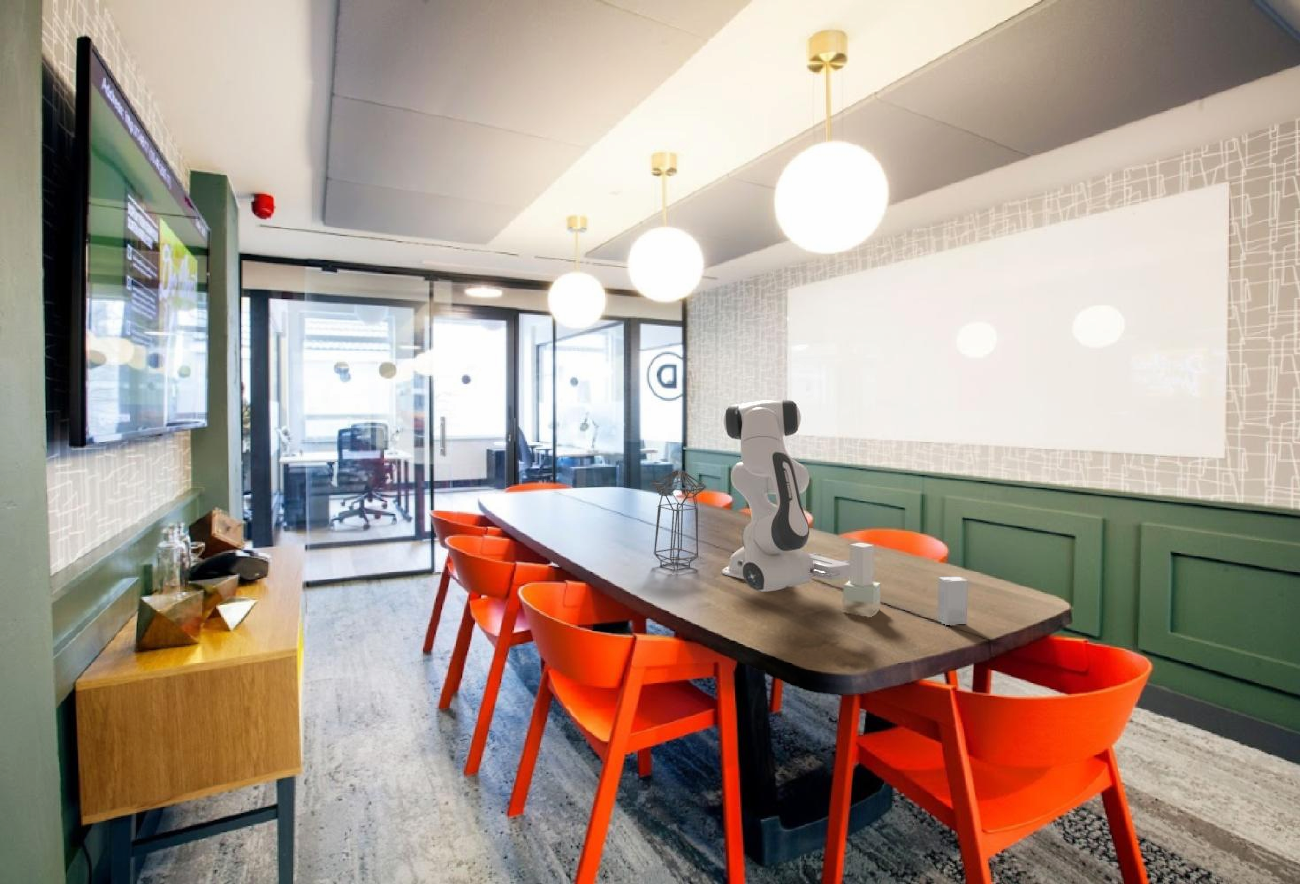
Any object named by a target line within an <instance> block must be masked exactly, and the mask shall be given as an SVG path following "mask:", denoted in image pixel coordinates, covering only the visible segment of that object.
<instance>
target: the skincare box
mask: <svg viewBox="0 0 1300 884" xmlns="http://www.w3.org/2000/svg"><path fill="white" fill-rule="evenodd" d="M968 586H969V580H967V579H965V578H963V577H960V576H943V577H942V576H940V577H938V582H937V618H936V619H937V622H939V623H940V622H941V623H940V624H941V625H943V624H945V625H944V626H946V625H950V626H954V625H953V624H967V623H968V620H967V619H968V597H969V596H968V593H969V592H968V589H969V587H968ZM967 625H968V624H967Z"/></svg>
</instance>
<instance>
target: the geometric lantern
mask: <svg viewBox="0 0 1300 884" xmlns="http://www.w3.org/2000/svg"><path fill="white" fill-rule="evenodd" d="M668 477H669V478H668ZM665 479H666V480H665ZM662 480H665V481H664V482H663V483H659V482H660V481H662ZM693 480H694V481H695V482H697V485H696V484H695V483H694V482H693ZM681 483H682V485H683V486H684V487H682V486H681ZM678 484H679V488H677V487H678ZM698 484H700V485H698ZM649 485H652V486H653V488H654V489H656V491H657V492H658V494H659V495H658V496H660V501H659V504H658V505H657V506H656V507H657V513H656V514H657V517H656V527H655V528H656V529H655V539H654V549H653V550H654V551H653V555H654V556H655V557H656V558H657V559H658V560H659V562H660V563H659V567H660V568H663V569H666V570H669V571H673V572H674V571H675V572H676V571H680V570H681V571H682V570H684V569H688V568H691V563H692V562H693V561H695V559H697V558H699V507H698V499H697V495H699V493H701V492H702V491H704V490H705V489H706V488H707V487H708V485H706V484H704V483H703V482H701V481H700V480H698V479H697V478H695V477H693V475H690V474H688V472H686V471H684V470H682V469H676V470H674V471H672V472H669V473H668V474H666V475H664V476H663V477H662V476H661V477H660V478H659V479H656V480H654V481H653V482H650V484H649ZM672 485H673V487H671V486H672ZM688 486H690V488H689V487H688ZM674 491H681V493H683V495H684V496H685V497H684V499H683V500H682V502H679V501H678V499H677V498H676V496H675V495H674V493H673V492H674ZM685 491H686V492H685ZM690 494H692V495H690ZM669 495H672V496H673V498H674V500H676V502H674V503H671V501H670V499H669V497H668V496H669ZM689 495H690V496H689ZM663 497H665V498H666V500H667V502H668V503H665V504H662V500H663ZM687 499H693V504H694V505H689V504H685V502H686V500H687ZM672 505H676V509H675V508H673V506H672ZM664 506H670V508H669V507H664ZM684 506H686V507H690V508H686V509H685V508H684ZM691 507H692V508H691ZM662 509H665V510H669V511H672V518H671V520H672V521H671V534H670V536H671V537H670V548H666V549H661V550H657V544H658V543H657V541H658V537H659V527H660V526H659V525H660V518H661V510H662ZM691 510H694V511H695V513H694V514H695V515H694V516H695V536H696V537H695V538H696V539H695V545H696V553H695V552H693V551H690V550H686V549H683V522H684V521H683V520H684V519H683V517H684V514H683V513H684V511H691ZM675 513H676V514H675ZM680 513H681V516H680ZM680 518H681V519H680ZM674 521H675V522H674ZM674 523H675V524H674ZM674 525H675V526H674ZM676 535H677V547H676ZM673 536H674V537H673ZM675 550H676V551H677V555H676V556H675ZM668 551H669V557H667V556H664V555H661V554H659V553H662V552H668ZM681 551H682V552H685V553H688V554H691V555H694V556H688V557H683V558H682V557H681V558H680V552H681ZM660 557H661V558H662V559H661V558H660ZM666 560H668V561H670V562H668V561H666ZM679 561H686V562H681V563H680V562H679ZM662 562H663V563H664V564H662ZM666 565H672V566H673V568H670V567H666ZM681 565H682V566H685V567H680V568H679V566H681ZM675 568H676V569H675Z"/></svg>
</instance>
